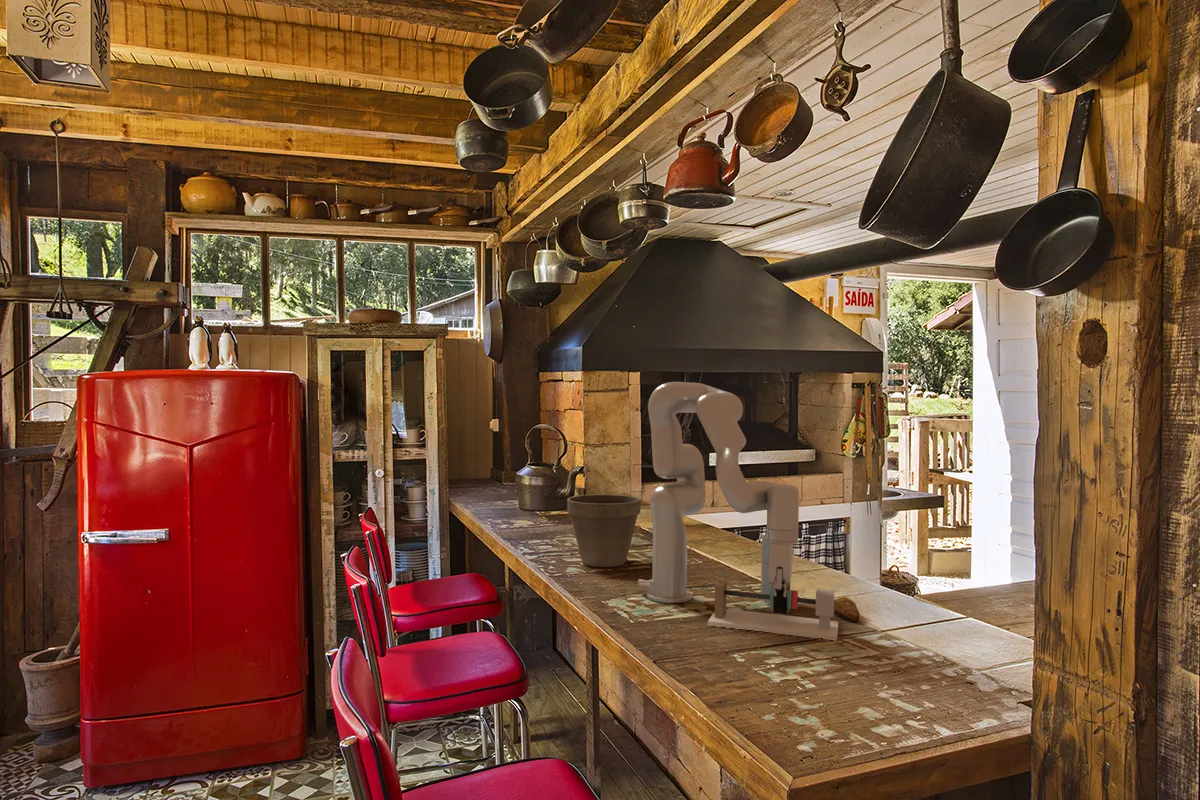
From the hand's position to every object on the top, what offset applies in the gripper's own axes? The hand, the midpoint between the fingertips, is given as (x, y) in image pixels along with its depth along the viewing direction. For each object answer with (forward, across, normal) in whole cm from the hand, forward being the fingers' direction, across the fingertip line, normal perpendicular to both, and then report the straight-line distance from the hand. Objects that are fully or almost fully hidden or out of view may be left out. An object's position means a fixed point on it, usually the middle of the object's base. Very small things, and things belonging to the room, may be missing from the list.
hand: (781, 609), depth 178 cm
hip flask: (+4, -19, -4) cm, 20 cm away
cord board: (+4, 0, -2) cm, 5 cm away
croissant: (+5, -16, +14) cm, 22 cm away
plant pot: (+4, -48, -63) cm, 79 cm away
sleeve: (-1, 0, 0) cm, 1 cm away
